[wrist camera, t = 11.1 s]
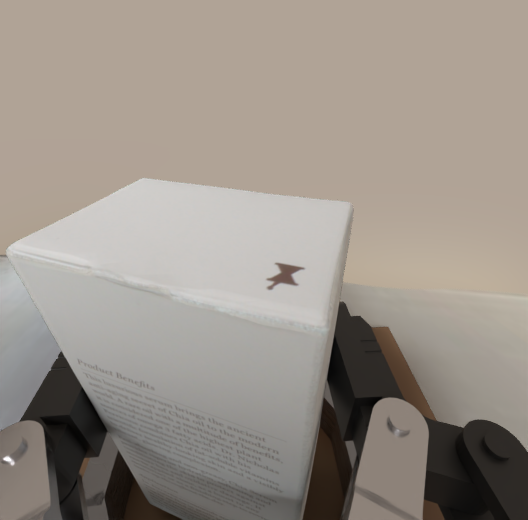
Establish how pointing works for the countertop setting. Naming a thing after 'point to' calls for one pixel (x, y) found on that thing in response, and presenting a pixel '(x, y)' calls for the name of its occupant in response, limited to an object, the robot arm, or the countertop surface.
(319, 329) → the skincare box
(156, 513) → the walnut base
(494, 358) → the countertop surface
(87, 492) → the ring collar
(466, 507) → the robot arm
